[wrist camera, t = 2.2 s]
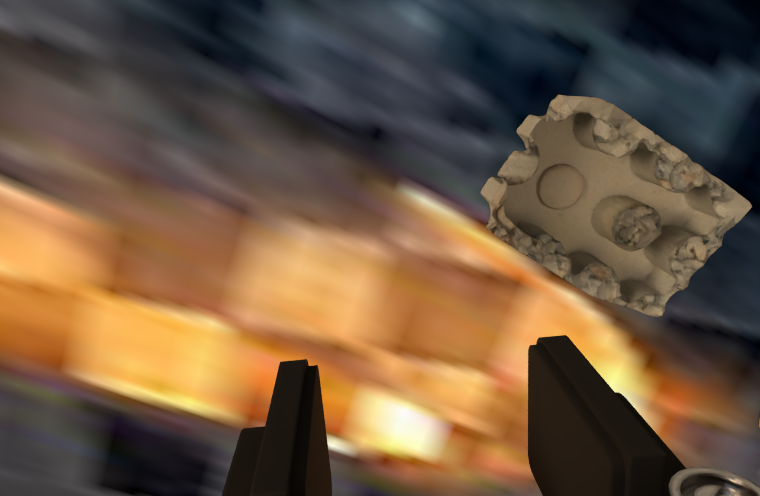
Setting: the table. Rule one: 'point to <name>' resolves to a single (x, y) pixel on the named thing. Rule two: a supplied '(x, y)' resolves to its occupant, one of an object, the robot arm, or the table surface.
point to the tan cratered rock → (609, 204)
